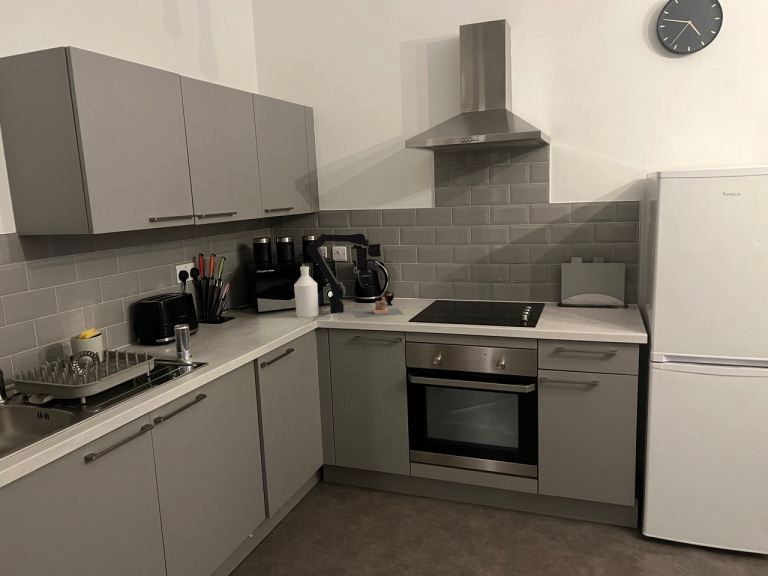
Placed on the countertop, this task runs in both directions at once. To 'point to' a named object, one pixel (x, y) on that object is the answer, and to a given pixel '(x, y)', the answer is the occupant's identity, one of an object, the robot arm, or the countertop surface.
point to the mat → (370, 314)
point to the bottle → (306, 295)
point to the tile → (380, 311)
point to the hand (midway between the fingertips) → (363, 287)
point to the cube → (380, 305)
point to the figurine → (388, 297)
